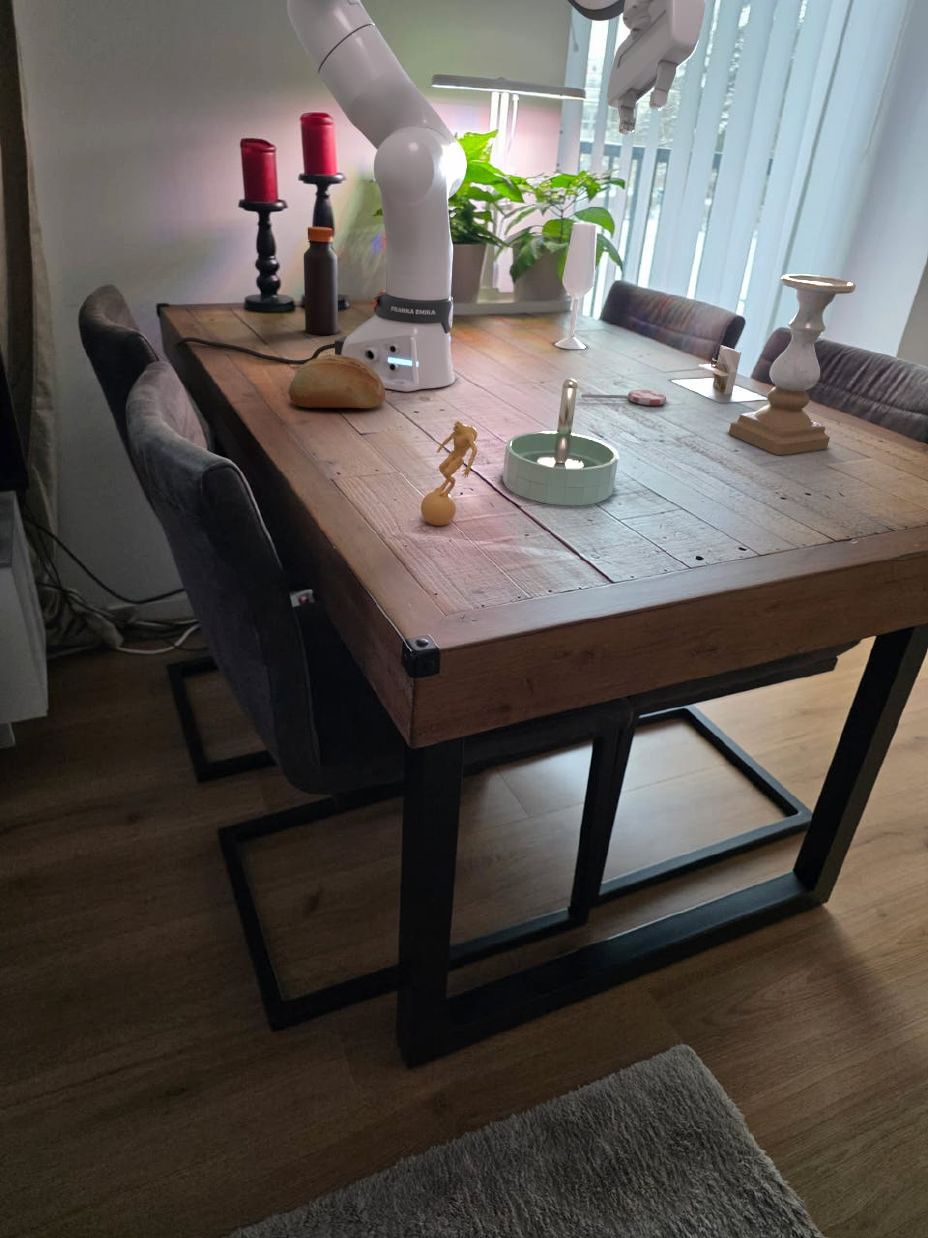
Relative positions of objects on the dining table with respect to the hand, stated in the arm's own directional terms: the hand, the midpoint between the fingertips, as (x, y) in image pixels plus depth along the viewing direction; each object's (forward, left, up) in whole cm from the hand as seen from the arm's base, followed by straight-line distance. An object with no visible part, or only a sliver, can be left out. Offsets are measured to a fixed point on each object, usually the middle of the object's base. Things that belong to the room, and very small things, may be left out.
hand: (641, 120), depth 114 cm
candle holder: (+28, +2, -42) cm, 51 cm away
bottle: (-59, +45, -42) cm, 85 cm away
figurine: (-17, -45, -42) cm, 64 cm away
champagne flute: (-7, +56, -42) cm, 71 cm away
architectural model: (+22, +31, -42) cm, 57 cm away
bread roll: (-41, -6, -42) cm, 59 cm away
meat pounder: (-5, -29, -42) cm, 51 cm away
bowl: (-5, -29, -42) cm, 51 cm away
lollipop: (+4, +16, -42) cm, 45 cm away
